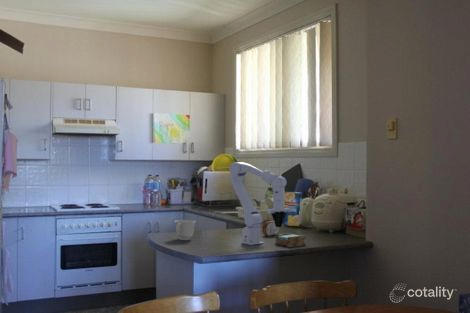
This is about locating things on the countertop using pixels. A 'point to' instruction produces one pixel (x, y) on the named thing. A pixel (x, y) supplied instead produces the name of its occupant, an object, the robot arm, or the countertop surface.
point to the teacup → (184, 228)
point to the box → (290, 240)
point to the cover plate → (286, 236)
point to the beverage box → (292, 208)
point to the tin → (270, 228)
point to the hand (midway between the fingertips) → (278, 226)
